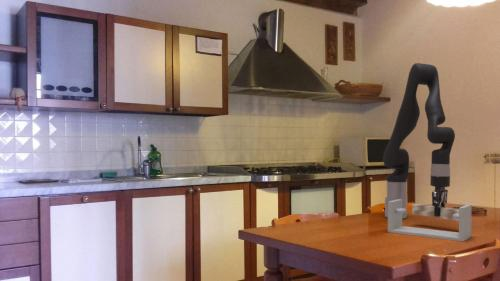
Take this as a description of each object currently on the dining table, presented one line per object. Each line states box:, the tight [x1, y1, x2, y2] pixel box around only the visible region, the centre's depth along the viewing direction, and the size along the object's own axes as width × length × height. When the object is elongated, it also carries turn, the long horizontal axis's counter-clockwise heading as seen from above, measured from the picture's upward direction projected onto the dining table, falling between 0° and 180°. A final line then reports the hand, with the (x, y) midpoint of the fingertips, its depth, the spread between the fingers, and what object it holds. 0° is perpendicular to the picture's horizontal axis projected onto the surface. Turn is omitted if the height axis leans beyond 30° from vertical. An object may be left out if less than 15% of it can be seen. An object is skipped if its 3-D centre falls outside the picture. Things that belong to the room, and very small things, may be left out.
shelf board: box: [411, 203, 459, 222], centre depth 195 cm, size 22×5×4 cm, turn 39°
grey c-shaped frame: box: [387, 199, 472, 242], centre depth 182 cm, size 28×12×12 cm, turn 52°
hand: (439, 215), depth 195 cm, fingers closed on shelf board, 5 cm apart
